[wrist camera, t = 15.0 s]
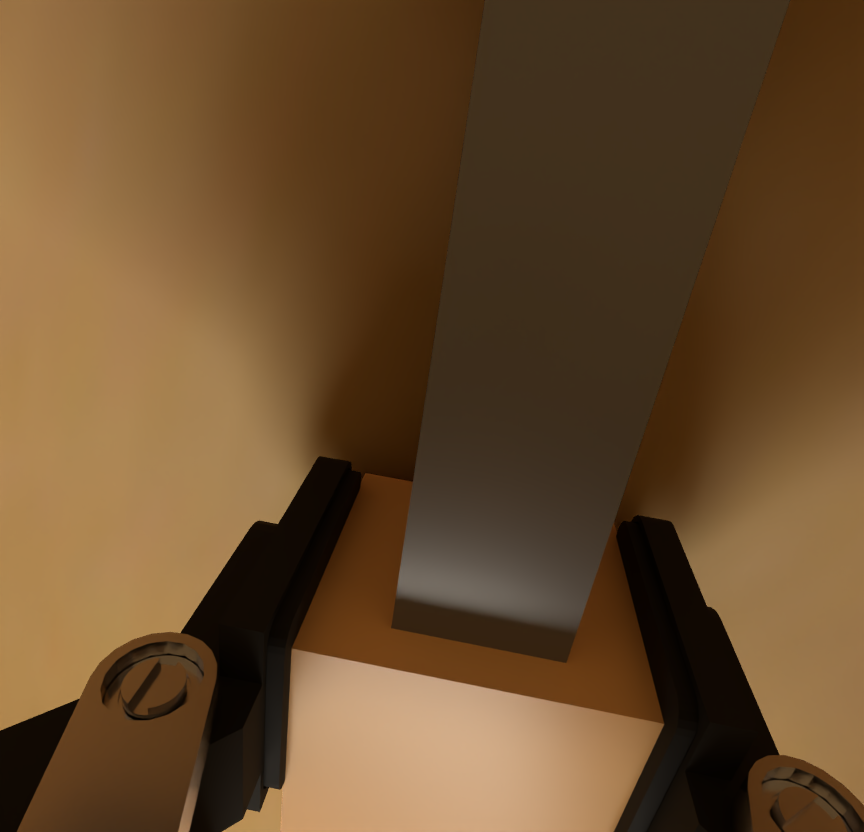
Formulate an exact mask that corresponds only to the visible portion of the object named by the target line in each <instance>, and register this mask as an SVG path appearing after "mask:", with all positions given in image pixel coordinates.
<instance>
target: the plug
mask: <svg viewBox="0 0 864 832" xmlns="http://www.w3.org/2000/svg"><path fill="white" fill-rule="evenodd" d="M789 2H790V0H485V3H484V9H483V16H482V23H481V29H480V36H479V43H478V50H477V56H476V63H475V70H474V76H473V83H472V90H471V96H470V103H469V110H468V117H467V123H466V130H465V137H464V143H463V150H462V157H461V163H460V170H459V177H458V183H457V190H456V197H455V204H454V210H453V217H452V224H451V230H450V237H449V244H448V250H447V257H446V264H445V270H444V277H443V284H442V291H441V297H440V304H439V311H438V317H437V324H436V331H435V337H434V344H433V351H432V357H431V364H430V371H429V378H428V384H427V391H426V398H425V404H424V411H423V418H422V424H421V431H420V438H419V444H418V451H417V458H416V465H415V471H414V478H413V482H411V481H406V480H400V479H395V478H390V477H384V476H379V475H374V474H368V473H365V474H364V477H363V479H362V481H361V485H360V490H359V492H358V495H357V497H356V499H355V502H354V504H353V506H352V509H351V511H350V513H349V516H348V518H347V520H346V523H345V525H344V527H343V530H342V532H341V534H340V537H339V539H338V541H337V544H336V546H335V548H334V551H333V553H332V555H331V558H330V560H329V562H328V565H327V567H326V569H325V572H324V574H323V576H322V579H321V581H320V583H319V586H318V588H317V590H316V593H315V595H314V598H313V600H312V602H311V605H310V607H309V609H308V612H307V614H306V616H305V619H304V621H303V623H302V626H301V628H300V630H299V633H298V635H297V637H296V640H295V642H294V644H293V647H292V652H291V672H290V692H289V712H288V732H287V752H286V772H285V782H284V784H283V789H282V810H281V830H280V832H614V830H615V828H616V826H617V824H618V822H619V820H620V817H621V815H622V813H623V811H624V809H625V807H626V805H627V803H628V800H629V798H630V796H631V794H632V792H633V790H634V788H635V785H636V783H637V781H638V779H639V777H640V775H641V773H642V771H643V768H644V766H645V764H646V762H647V760H648V758H649V756H650V754H651V751H652V749H653V747H654V745H655V743H656V741H657V739H658V736H659V734H660V732H661V730H662V728H663V726H664V721H663V717H662V713H661V709H660V705H659V701H658V697H657V693H656V690H655V686H654V682H653V678H652V674H651V670H650V666H649V662H648V659H647V655H646V651H645V647H644V643H643V639H642V635H641V631H640V628H639V624H638V620H637V616H636V612H635V608H634V604H633V600H632V597H631V593H630V589H629V585H628V581H627V577H626V573H625V569H624V566H623V562H622V558H621V554H620V550H619V546H618V542H617V538H616V535H617V531H616V527H615V523H614V520H615V517H616V514H617V511H618V509H619V506H620V503H621V500H622V497H623V494H624V491H625V488H626V485H627V482H628V479H629V476H630V473H631V470H632V467H633V464H634V461H635V458H636V455H637V452H638V449H639V446H640V443H641V440H642V437H643V434H644V431H645V429H646V426H647V423H648V420H649V417H650V414H651V411H652V408H653V405H654V402H655V399H656V396H657V393H658V390H659V387H660V384H661V381H662V378H663V375H664V372H665V369H666V366H667V363H668V360H669V357H670V354H671V352H672V349H673V346H674V343H675V340H676V337H677V334H678V331H679V328H680V325H681V322H682V319H683V316H684V313H685V310H686V307H687V304H688V301H689V298H690V295H691V292H692V289H693V286H694V283H695V280H696V277H697V274H698V272H699V269H700V266H701V263H702V260H703V257H704V254H705V251H706V248H707V245H708V242H709V239H710V236H711V233H712V230H713V227H714V224H715V221H716V218H717V215H718V212H719V209H720V206H721V203H722V200H723V197H724V195H725V192H726V189H727V186H728V183H729V180H730V177H731V174H732V171H733V168H734V165H735V162H736V159H737V156H738V153H739V150H740V147H741V144H742V141H743V138H744V135H745V132H746V129H747V126H748V123H749V120H750V117H751V115H752V112H753V109H754V106H755V103H756V100H757V97H758V94H759V91H760V88H761V85H762V82H763V79H764V76H765V73H766V70H767V67H768V64H769V61H770V58H771V55H772V52H773V49H774V46H775V43H776V40H777V38H778V35H779V32H780V29H781V26H782V23H783V20H784V17H785V14H786V11H787V8H788V5H789Z"/></svg>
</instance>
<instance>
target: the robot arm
mask: <svg viewBox="0 0 864 832" xmlns="http://www.w3.org/2000/svg"><path fill="white" fill-rule="evenodd" d="M351 469H352V467H351V462H349V461H343V460H338V459H332V458H327V457H322V456H320V457H319V458H318V459H317V460H316V462H315V464H314V465H313V467H312V469H311V470H310V472H309V474H308V475H307V477H306V479H305V480H304V482H303V484H302V485H301V487H300V489H299V490H298V492H297V494H296V495H295V497H294V499H293V500H292V502H291V504H290V505H289V507H288V509H287V510H286V512H285V514H284V515H283V517H282V519H281V520H280V522H279V524H274V523H269V522H264V521H257V522H255V523H254V524H253V525H252V527H251V528H250V529H249V531H248V532H247V534H246V535H245V537H244V538H243V540H242V541H241V543H240V544H239V546H238V547H237V549H236V550H235V552H234V553H233V555H232V556H231V558H230V559H229V561H228V562H227V564H226V565H225V567H224V568H223V570H222V571H221V573H220V574H219V576H218V577H217V579H216V580H215V582H214V583H213V585H212V586H211V588H210V589H209V591H208V592H207V594H206V595H205V597H204V598H203V600H202V601H201V603H200V604H199V606H198V607H197V609H196V610H195V612H194V613H193V615H192V616H191V618H190V619H189V621H188V622H187V624H186V625H185V627H184V628H183V630H182V631H181V633H174V632H165V633H155V634H149V635H146V636H143V637H140V638H137V639H133V640H131V641H129V642H128V643H126V644H124V645H122V646H120V647H119V648H117V649H115V650H114V651H113V652H111V653H110V654H109V655H108V656H107V657H106V658H105V659H103V660H102V661H101V662H100V663H99V665H98V666H97V668H96V669H95V671H94V672H93V674H92V675H91V676H90V678H89V680H88V682H87V684H86V686H85V689H84V691H83V693H82V695H81V697H80V699H78V700H75V701H73V702H70V703H68V704H65V705H63V706H60V707H58V708H55V709H53V710H50V711H48V712H45V713H43V714H40V715H38V716H36V717H33V718H31V719H28V720H26V721H23V722H21V723H18V724H16V725H13V726H11V727H8V728H6V729H3V730H1V731H0V832H222V831H223V830H225V829H227V828H228V827H230V826H232V825H234V824H235V823H237V822H239V821H240V820H242V819H243V817H244V815H245V812H246V810H247V809H248V810H253V811H258V812H260V810H261V808H262V805H263V802H264V799H265V797H266V794H267V791H268V789H269V787H270V788H275V789H281V788H282V786H283V784H284V782H285V772H286V752H287V732H288V712H289V692H290V672H291V652H292V647H293V644H294V642H295V640H296V637H297V635H298V633H299V630H300V628H301V626H302V623H303V621H304V619H305V616H306V614H307V612H308V609H309V607H310V605H311V602H312V600H313V598H314V595H315V593H316V590H317V588H318V586H319V583H320V581H321V579H322V576H323V574H324V572H325V569H326V567H327V565H328V562H329V560H330V558H331V555H332V553H333V551H334V548H335V546H336V544H337V541H338V539H339V537H340V534H341V532H342V530H343V527H344V525H345V523H346V520H347V518H348V516H349V513H350V511H351V509H352V506H353V504H354V502H355V499H356V497H357V495H358V492H359V490H360V485H361V472H358V471H352V470H351ZM616 538H617V542H618V546H619V550H620V554H621V558H622V562H623V566H624V569H625V573H626V577H627V581H628V585H629V589H630V593H631V597H632V600H633V604H634V608H635V612H636V616H637V620H638V624H639V628H640V631H641V635H642V639H643V643H644V647H645V651H646V655H647V659H648V662H649V666H650V670H651V674H652V678H653V682H654V686H655V690H656V693H657V697H658V701H659V705H660V709H661V713H662V717H663V721H664V726H663V728H662V730H661V732H660V734H659V736H658V739H657V741H656V743H655V745H654V747H653V749H652V751H651V754H650V756H649V758H648V760H647V762H646V764H645V766H644V768H643V771H642V773H641V775H640V777H639V779H638V781H637V783H636V785H635V788H634V790H633V792H632V794H631V796H630V798H629V800H628V803H627V805H626V807H625V809H624V811H623V813H622V815H621V817H620V820H619V822H618V824H617V826H616V828H615V830H614V832H864V805H863V804H862V803H861V802H860V801H859V800H858V799H857V798H856V797H855V796H854V795H853V794H852V793H851V792H850V791H849V790H848V789H847V788H846V787H845V786H844V785H843V784H842V783H840V782H839V781H837V780H836V779H835V778H833V777H832V776H830V775H829V774H828V773H826V772H825V771H824V770H822V769H820V768H818V767H816V766H814V765H812V764H810V763H808V762H806V761H804V760H801V759H797V758H793V757H789V756H785V755H779V753H778V750H777V748H776V746H775V743H774V741H773V739H772V737H771V734H770V732H769V730H768V727H767V725H766V723H765V720H764V718H763V716H762V713H761V711H760V709H759V706H758V704H757V702H756V699H755V697H754V695H753V692H752V690H751V688H750V686H749V683H748V681H747V679H746V676H745V674H744V672H743V669H742V667H741V665H740V662H739V660H738V658H737V655H736V653H735V651H734V648H733V646H732V644H731V641H730V639H729V637H728V635H727V632H726V630H725V628H724V625H723V623H722V621H721V618H720V617H719V615H718V613H717V612H716V611H715V610H714V609H712V608H711V607H707V605H706V603H705V601H704V598H703V596H702V593H701V591H700V588H699V586H698V584H697V581H696V579H695V576H694V574H693V572H692V569H691V567H690V564H689V562H688V559H687V557H686V555H685V552H684V550H683V547H682V545H681V542H680V540H679V538H678V535H677V533H676V530H675V528H674V526H673V524H672V522H670V521H666V520H661V519H656V518H650V517H645V516H639V515H637V516H635V517H634V518H633V520H632V522H626V521H623V522H622V523H621V525H620V527H619V529H618V532H617V535H616Z"/></svg>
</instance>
